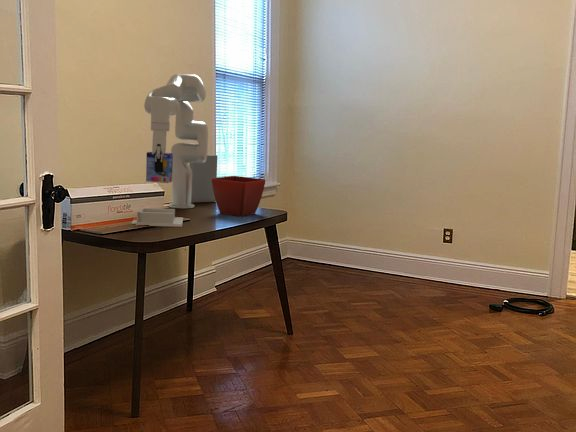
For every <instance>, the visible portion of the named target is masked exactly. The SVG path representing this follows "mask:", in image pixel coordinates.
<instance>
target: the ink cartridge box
mask: <svg viewBox="0 0 576 432" xmlns="http://www.w3.org/2000/svg"><path fill="white" fill-rule="evenodd" d="M160 149H161V148H160ZM161 153H162V151H161ZM155 156H156V152H155V154H154V155H152V151H146V166H145V167H146V173H145V174H146V175H145V182H149V183H150V182H151V183H161V184H169V183H172V176H173V154H172V153H171V152H165V153H164V155H163V156H162V162H163V172H155Z"/></svg>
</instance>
